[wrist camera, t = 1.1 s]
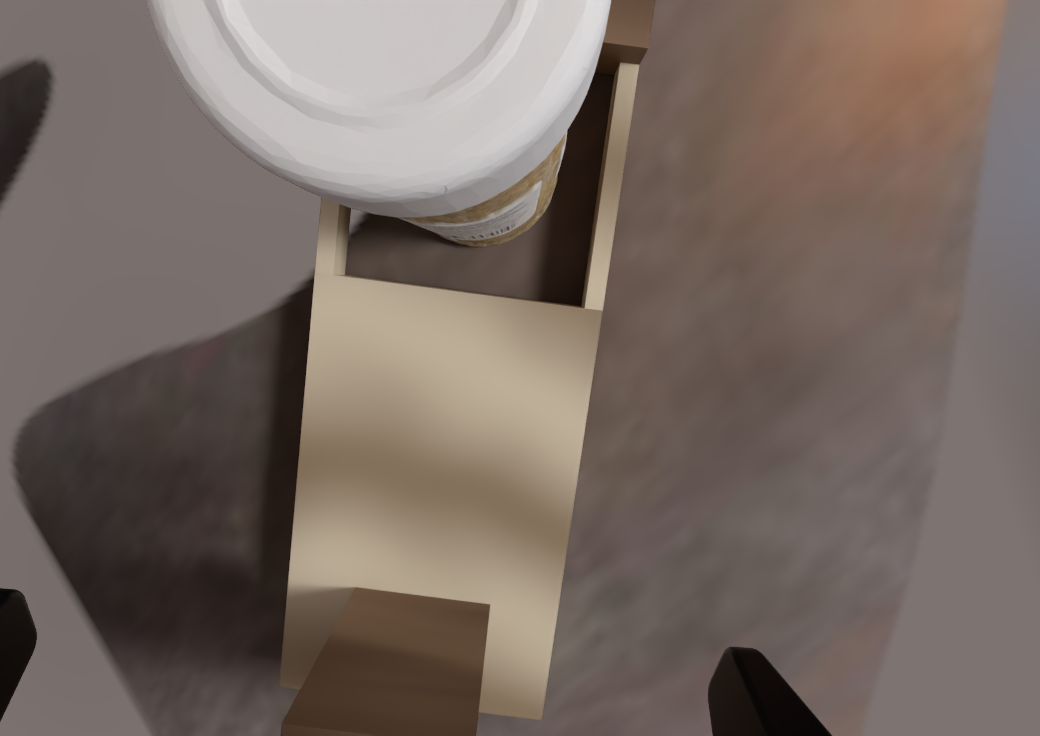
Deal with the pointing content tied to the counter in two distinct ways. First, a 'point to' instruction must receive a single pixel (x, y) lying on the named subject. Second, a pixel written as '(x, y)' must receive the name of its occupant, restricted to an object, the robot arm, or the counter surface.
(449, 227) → the sprinkles bottle
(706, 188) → the counter surface
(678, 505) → the counter surface
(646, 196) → the counter surface
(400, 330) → the wooden stand
